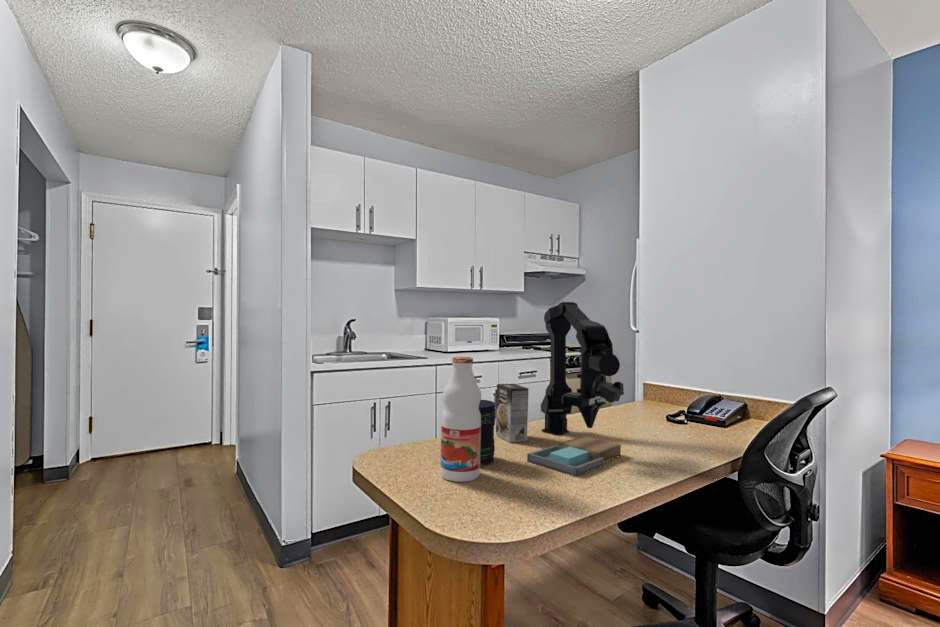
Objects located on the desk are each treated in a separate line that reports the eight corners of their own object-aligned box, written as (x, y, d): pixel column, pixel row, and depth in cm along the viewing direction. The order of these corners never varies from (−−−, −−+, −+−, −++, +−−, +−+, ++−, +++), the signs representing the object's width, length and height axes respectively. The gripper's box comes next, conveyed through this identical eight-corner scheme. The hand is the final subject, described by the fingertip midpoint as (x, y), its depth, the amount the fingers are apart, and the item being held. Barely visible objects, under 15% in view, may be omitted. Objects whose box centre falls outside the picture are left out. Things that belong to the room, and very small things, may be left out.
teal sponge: (549, 460, 125) (549, 452, 125) (569, 453, 132) (569, 446, 132) (568, 466, 121) (569, 458, 121) (588, 459, 127) (589, 451, 127)
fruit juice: (486, 472, 117) (488, 357, 117) (470, 485, 108) (472, 360, 108) (451, 466, 121) (453, 354, 121) (433, 478, 112) (435, 358, 112)
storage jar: (491, 467, 121) (492, 408, 121) (452, 464, 123) (454, 405, 123) (497, 455, 131) (498, 400, 130) (461, 452, 133) (462, 398, 132)
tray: (527, 461, 126) (527, 453, 126) (555, 452, 135) (556, 444, 135) (576, 476, 116) (576, 468, 116) (603, 465, 124) (604, 458, 124)
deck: (560, 453, 134) (560, 442, 134) (582, 446, 142) (583, 435, 141) (598, 464, 125) (599, 452, 125) (620, 455, 133) (620, 445, 133)
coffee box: (494, 435, 151) (496, 383, 151) (512, 433, 154) (513, 382, 154) (509, 443, 143) (510, 388, 143) (527, 441, 146) (529, 387, 145)
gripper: (598, 377, 120) (596, 440, 120) (635, 371, 133) (634, 428, 133) (561, 372, 128) (560, 431, 128) (599, 367, 141) (598, 420, 141)
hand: (589, 427), depth 133 cm, fingers closed
